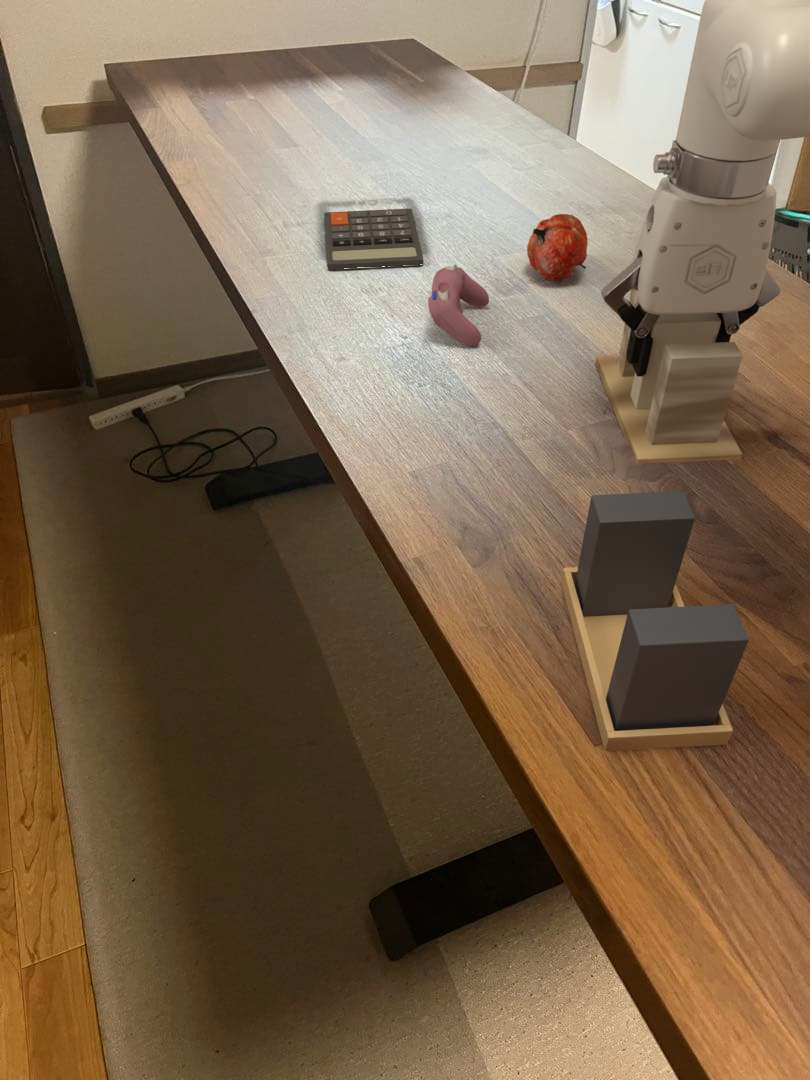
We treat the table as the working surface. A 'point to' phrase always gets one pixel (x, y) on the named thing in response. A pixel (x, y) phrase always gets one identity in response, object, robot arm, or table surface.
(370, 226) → the calculator
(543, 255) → the pomegranate
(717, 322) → the beige rectangular block
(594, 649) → the shallow beige tray
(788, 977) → the table surface
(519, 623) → the table surface
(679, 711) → the dark grey block
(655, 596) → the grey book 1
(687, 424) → the wooden block stand
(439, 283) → the video game controller
